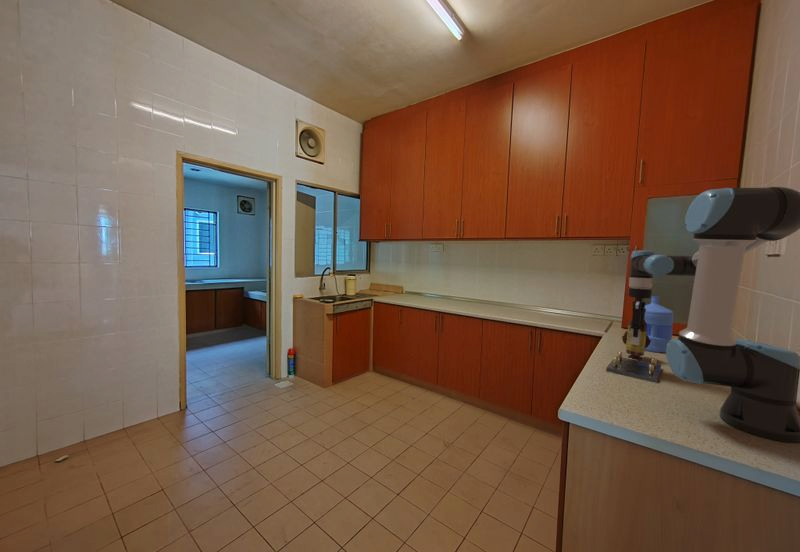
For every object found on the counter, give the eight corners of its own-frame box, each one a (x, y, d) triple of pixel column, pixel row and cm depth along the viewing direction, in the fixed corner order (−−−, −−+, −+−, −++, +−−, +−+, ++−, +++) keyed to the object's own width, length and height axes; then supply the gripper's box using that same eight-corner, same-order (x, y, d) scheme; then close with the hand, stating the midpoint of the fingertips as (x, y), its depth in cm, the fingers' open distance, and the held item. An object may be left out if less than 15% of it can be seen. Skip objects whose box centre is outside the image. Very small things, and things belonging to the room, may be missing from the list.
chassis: (656, 382, 115) (657, 369, 115) (606, 371, 126) (607, 359, 126) (661, 368, 131) (661, 357, 131) (615, 359, 142) (616, 348, 142)
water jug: (632, 343, 174) (635, 294, 172) (668, 348, 165) (673, 296, 163) (633, 349, 161) (637, 296, 160) (672, 355, 152) (677, 299, 150)
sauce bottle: (622, 351, 132) (625, 305, 131) (636, 352, 132) (640, 306, 131) (633, 356, 125) (636, 308, 124) (648, 357, 125) (652, 308, 124)
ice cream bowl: (650, 358, 146) (652, 327, 145) (648, 363, 138) (650, 330, 137) (622, 353, 153) (625, 323, 152) (619, 358, 145) (621, 326, 144)
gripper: (649, 290, 117) (644, 349, 119) (653, 287, 131) (649, 340, 133) (625, 288, 122) (621, 345, 124) (632, 286, 136) (628, 337, 138)
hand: (636, 343), depth 128 cm, fingers closed on sauce bottle, 6 cm apart
